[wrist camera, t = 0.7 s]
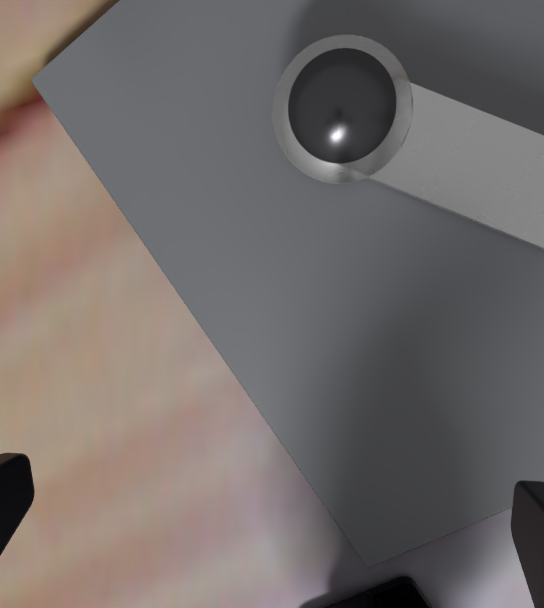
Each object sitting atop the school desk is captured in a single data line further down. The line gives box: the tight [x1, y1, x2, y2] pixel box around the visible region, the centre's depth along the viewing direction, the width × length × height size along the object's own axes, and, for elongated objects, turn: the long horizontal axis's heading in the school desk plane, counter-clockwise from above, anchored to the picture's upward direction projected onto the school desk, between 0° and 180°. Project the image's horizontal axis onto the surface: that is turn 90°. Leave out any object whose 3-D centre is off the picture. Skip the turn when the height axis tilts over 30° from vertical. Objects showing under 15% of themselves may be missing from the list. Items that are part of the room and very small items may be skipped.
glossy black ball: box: [288, 48, 397, 164], centre depth 14 cm, size 3×3×1 cm
